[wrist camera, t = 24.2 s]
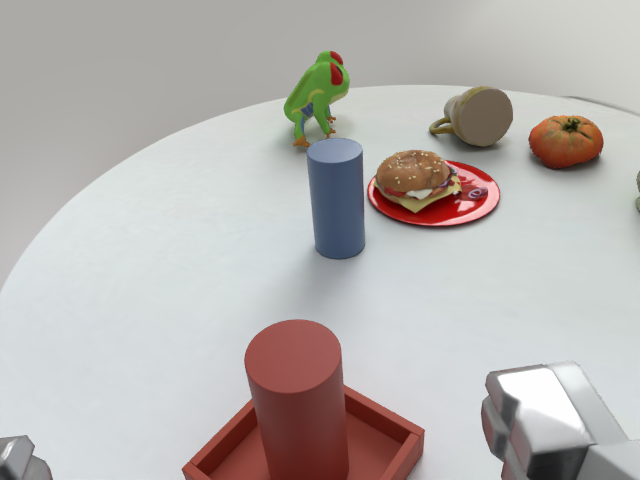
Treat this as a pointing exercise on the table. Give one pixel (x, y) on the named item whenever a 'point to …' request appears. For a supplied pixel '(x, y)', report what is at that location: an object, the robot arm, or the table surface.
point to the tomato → (565, 141)
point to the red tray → (362, 436)
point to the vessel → (639, 182)
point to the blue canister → (337, 196)
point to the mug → (477, 116)
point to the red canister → (299, 400)
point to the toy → (317, 94)
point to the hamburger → (431, 190)
